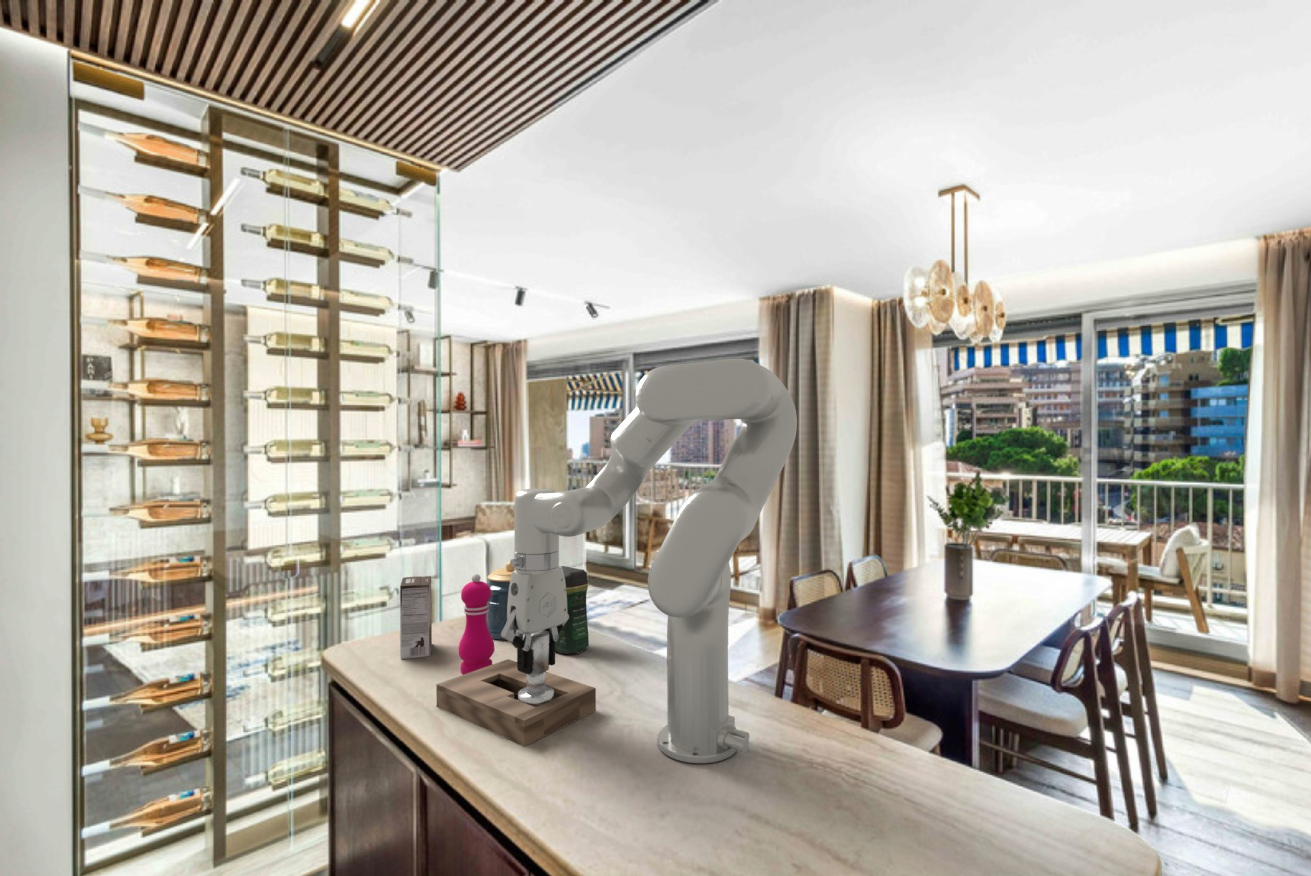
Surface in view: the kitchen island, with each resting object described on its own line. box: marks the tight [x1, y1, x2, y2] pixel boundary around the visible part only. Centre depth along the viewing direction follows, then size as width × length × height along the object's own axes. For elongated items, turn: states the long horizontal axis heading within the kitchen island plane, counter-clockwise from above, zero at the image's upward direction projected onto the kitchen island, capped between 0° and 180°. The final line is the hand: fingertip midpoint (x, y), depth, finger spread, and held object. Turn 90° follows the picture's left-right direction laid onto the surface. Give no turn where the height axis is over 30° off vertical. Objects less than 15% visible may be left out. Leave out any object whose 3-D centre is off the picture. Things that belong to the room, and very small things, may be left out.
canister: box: [486, 560, 523, 641], centre depth 155 cm, size 13×13×18 cm
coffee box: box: [399, 575, 433, 660], centre depth 142 cm, size 9×6×16 cm
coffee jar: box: [555, 565, 590, 655], centre depth 143 cm, size 10×8×19 cm
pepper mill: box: [457, 573, 495, 675], centre depth 130 cm, size 7×7×20 cm
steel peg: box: [517, 630, 554, 707], centre depth 107 cm, size 6×6×12 cm
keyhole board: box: [435, 658, 597, 747], centre depth 111 cm, size 24×16×4 cm, turn 52°
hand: (536, 666), depth 107 cm, fingers closed on steel peg, 4 cm apart
